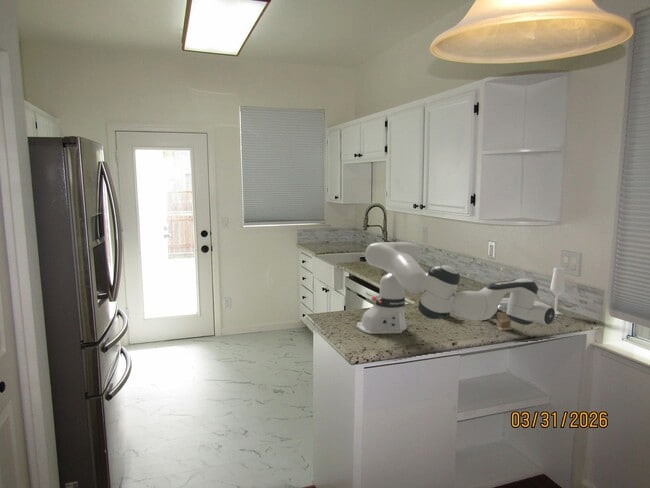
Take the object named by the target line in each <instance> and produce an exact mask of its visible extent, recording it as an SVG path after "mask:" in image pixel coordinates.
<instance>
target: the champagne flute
mask: <svg viewBox="0 0 650 488" xmlns="http://www.w3.org/2000/svg"><path fill="white" fill-rule="evenodd" d="M565 270H566V269H565V268H564V267H560V266H559V267H554V268H553V272H552V273H553V274H552V278H551V282H550V288H549V290H550V292H551V293H552V294H553V295H555V297H554V298H555V299H554V307H553V308H554V310H555V314H562V313H561V312H560V311H559V310H558V304H559V303H558V301H559V296H561V295H562V294H564V292H565V291H566V282H565V281H566V280H565V279H566V278H565V277H566V275H565V273H566V272H565Z"/></svg>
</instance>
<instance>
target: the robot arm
mask: <svg viewBox="0 0 650 488" xmlns="http://www.w3.org/2000/svg"><path fill="white" fill-rule="evenodd" d="M422 253H423V252H422V248H421V247H420V246H419V245H418V244H417V243H413V242H409V241H392V242H391V241H390V242H389V241H388V242H386V241H385V242H383V241H381V242H374V243H370V244H368V246H367V247H366V249H365V252H364V256H365V260H366V263H368V265H369V266H372V267H376V268H378V269H382V270H383V271H385V272H387V273H386V274H384V275H383V276H382V277H381V278H380V280H379V281H380V282H379V295H378V297H376V296H373V295H372V297H371V300H372V301H373V302H375V304H374V305H372V306H371V307H370V308H369V309H367V310H366V311H365V312H363V314H362V318H361V321H358V322H357V324H356V327H357V329H358V330H359V331H360V332H363V333H366V334H369V335H375V334H376V335H379V334H402V333H403V332H404V331H405V330H406V329H407V324H406V319H405V318H406V317H405V307H406V297H405V290H406V291H407V292H408V293H410V294H415V295H416V294H421V293H422V294H421V296H420V297H421V298H420V299H419V302H418V307H417V308H418V311H419V312H420V314H421V315H423V316H424V317H426V318H427V319H430V320H431V319H432V320H441V319H444V318H448V317H449V316H450V315H451V313H452V314H454V315H455V316H457V317H460V318H462V319H466V320H472V321H485V320H488V319H490V318H491V317H492V316H493V315H494V314H495V313H496V312H497V310H503V311H505V312H506V315H507V316H508V318H509V319H510V320H511V321H512V322H515V323H517V324H519V325H523V326H524V325H525V326H527V325H530V324H534V323H537V324H540V325H545V326H548V325H551V324H552V323H553V322H554V320H555V316H556V315H555V310H554V308H555V307H552V306H551V305H549V304H546V303H544V302H542V301H539V299H538V298H537V294H538V291H539V287H538V285H537V282H535V281H534V280H532V279H529V278H523V277H520V278H516V279H511V280H504V281H497V282H491V283H487V284H486V285H485V286H484V287H483V288H481V289H480V290H478V291H476V290H475V291H474V290H464V291H463V290H462V291H459V292H458V291H457V288H458V285H459V284H460V280H461V275H460V273H459V271H458V270H456V268H454V267H453V266H450V265H446V264H438V265H435V266H434V267H433V266H432V267H429V268H428V269H427V272H426V271H425V270H424V269H423V268H422V267H421V266H420V264H419V263H420V261H421V259H422V255H423V254H422ZM508 293H510V294H509V297H504V296H505V295H506V294H508Z"/></svg>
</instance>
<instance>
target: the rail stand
mask: <svg viewBox="0 0 650 488" xmlns="http://www.w3.org/2000/svg"><path fill="white" fill-rule="evenodd" d="M495 315H497V319H496V324H495V325H493V326H492V327H493V328H494V329H497V330H498V331H508V330H509V331H511V330H514V327H513V326H512V325H511V321H512V320H510V319H509V318H508V316H507V315H506V311H503V312H500V311H498V310H497V312H496V313H495Z"/></svg>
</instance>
